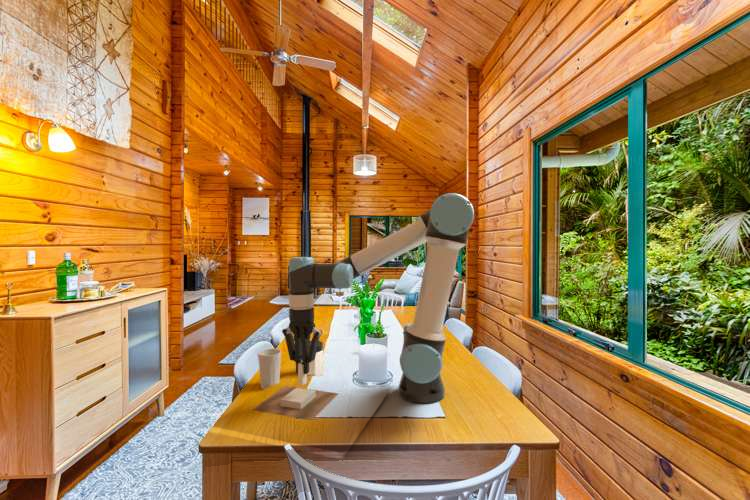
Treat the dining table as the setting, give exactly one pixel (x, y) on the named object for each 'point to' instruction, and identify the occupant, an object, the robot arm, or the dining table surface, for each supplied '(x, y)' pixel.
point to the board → (305, 413)
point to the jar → (317, 362)
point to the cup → (269, 367)
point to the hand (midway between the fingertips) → (302, 383)
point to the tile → (298, 398)
